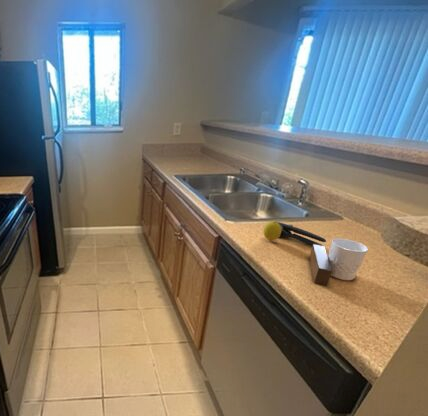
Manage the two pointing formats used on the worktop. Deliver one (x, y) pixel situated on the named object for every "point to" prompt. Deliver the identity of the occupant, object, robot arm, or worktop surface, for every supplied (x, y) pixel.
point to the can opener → (287, 233)
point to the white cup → (346, 258)
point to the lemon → (272, 231)
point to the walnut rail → (320, 265)
